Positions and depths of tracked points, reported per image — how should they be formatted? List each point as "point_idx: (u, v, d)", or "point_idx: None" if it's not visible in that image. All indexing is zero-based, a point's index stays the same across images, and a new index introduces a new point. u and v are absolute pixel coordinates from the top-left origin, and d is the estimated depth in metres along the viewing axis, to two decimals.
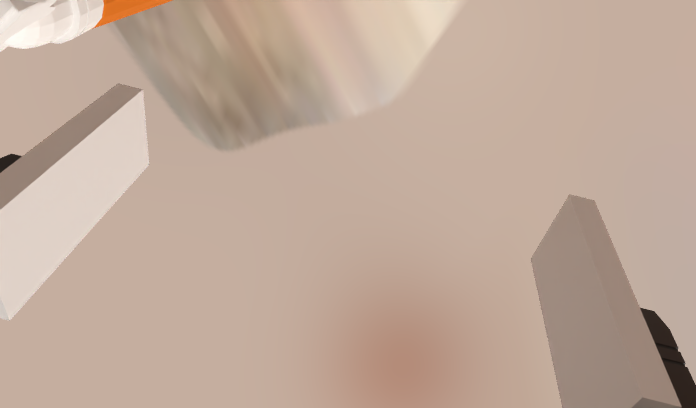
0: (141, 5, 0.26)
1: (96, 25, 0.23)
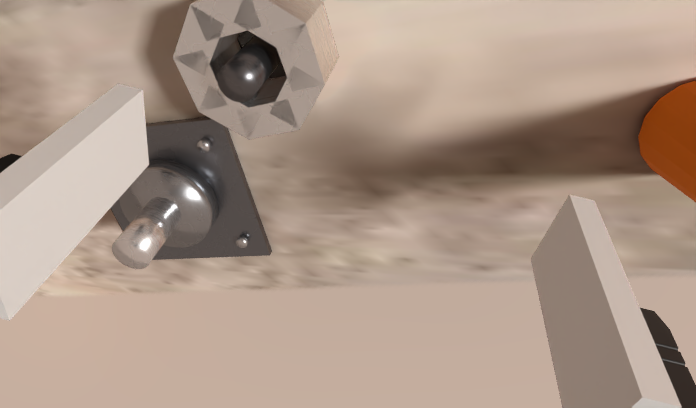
0: None
1: None
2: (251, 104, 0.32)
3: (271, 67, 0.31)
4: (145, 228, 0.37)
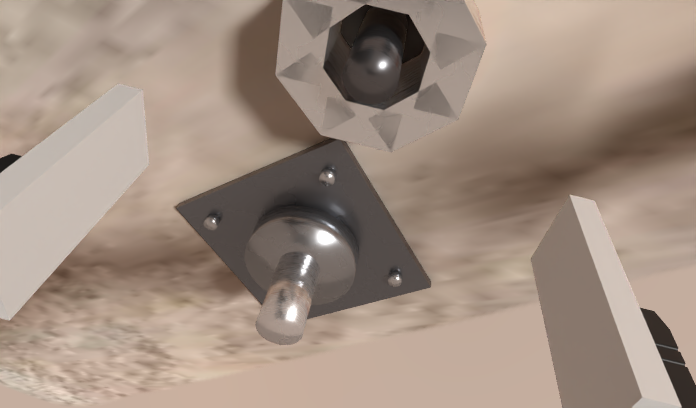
0: None
1: None
2: (386, 105, 0.24)
3: (402, 47, 0.22)
4: (286, 294, 0.30)
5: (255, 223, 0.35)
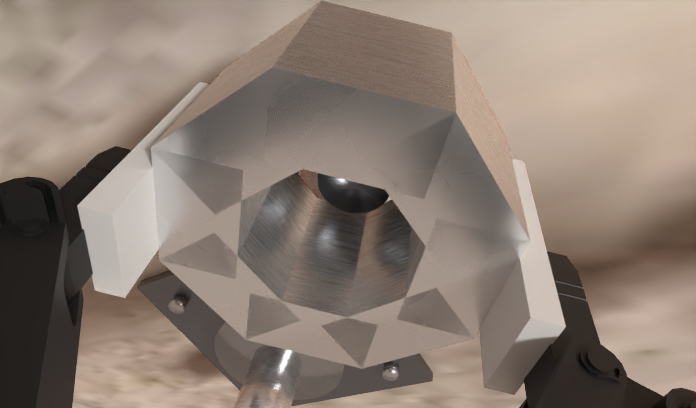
0: None
1: None
2: (351, 305, 0.14)
3: None
4: (259, 406, 0.25)
5: None
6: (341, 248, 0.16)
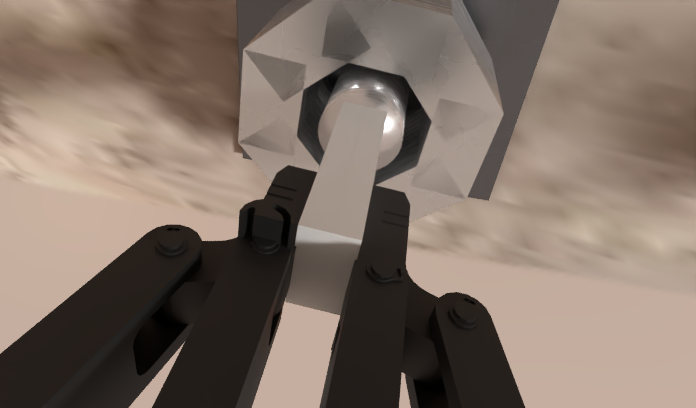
0: None
1: None
2: (376, 179, 0.19)
3: None
4: (394, 89, 0.17)
5: None
6: None
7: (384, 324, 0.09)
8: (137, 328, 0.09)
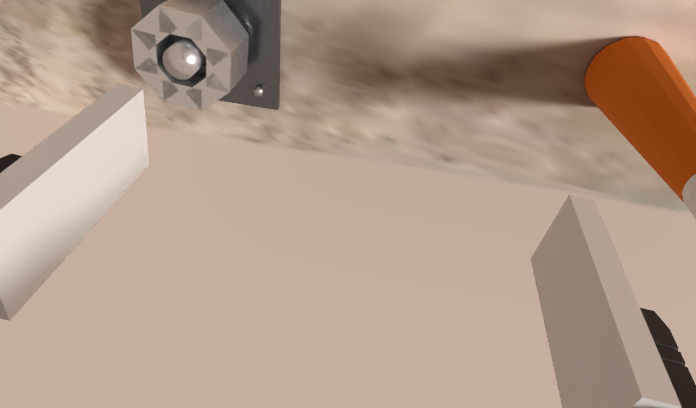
0: None
1: None
2: (194, 85, 0.45)
3: None
4: (194, 45, 0.43)
5: None
6: (197, 74, 0.47)
7: None
8: None
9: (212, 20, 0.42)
